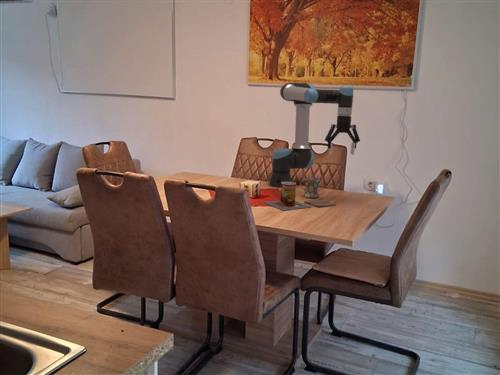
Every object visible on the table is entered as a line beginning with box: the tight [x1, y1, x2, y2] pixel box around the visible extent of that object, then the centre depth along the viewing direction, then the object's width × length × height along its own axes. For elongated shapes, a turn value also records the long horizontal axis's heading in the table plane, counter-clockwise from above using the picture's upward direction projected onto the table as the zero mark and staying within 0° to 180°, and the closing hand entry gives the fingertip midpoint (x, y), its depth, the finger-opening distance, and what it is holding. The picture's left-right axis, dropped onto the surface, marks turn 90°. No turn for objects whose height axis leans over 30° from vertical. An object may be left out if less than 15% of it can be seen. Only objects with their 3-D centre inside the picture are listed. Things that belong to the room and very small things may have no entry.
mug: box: [299, 177, 321, 199], centre depth 270 cm, size 12×9×11 cm
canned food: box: [279, 181, 297, 208], centre depth 247 cm, size 8×8×12 cm
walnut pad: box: [303, 198, 337, 209], centre depth 253 cm, size 12×12×1 cm
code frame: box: [263, 200, 312, 212], centre depth 248 cm, size 18×18×1 cm
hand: (341, 154), depth 258 cm, fingers open, 13 cm apart
